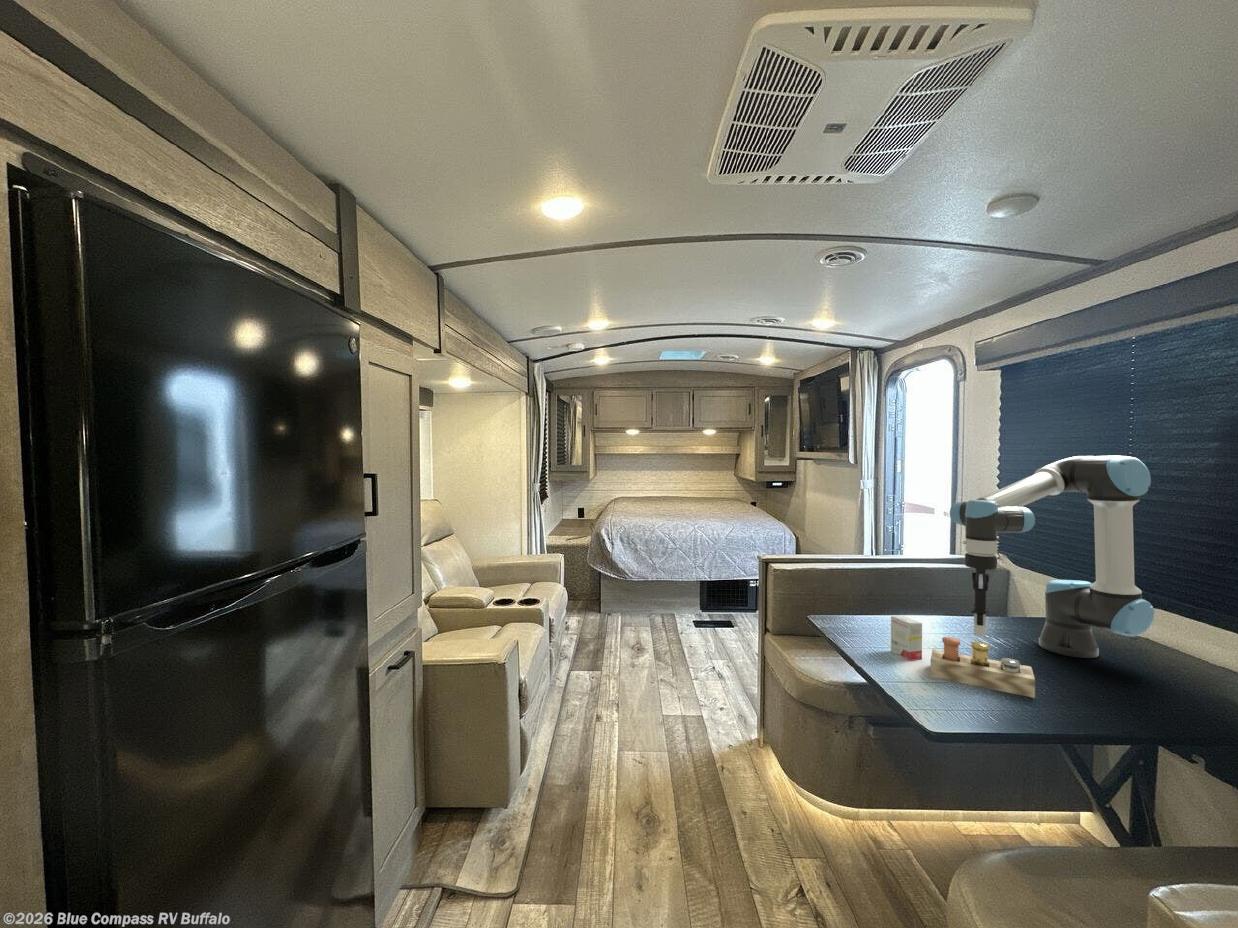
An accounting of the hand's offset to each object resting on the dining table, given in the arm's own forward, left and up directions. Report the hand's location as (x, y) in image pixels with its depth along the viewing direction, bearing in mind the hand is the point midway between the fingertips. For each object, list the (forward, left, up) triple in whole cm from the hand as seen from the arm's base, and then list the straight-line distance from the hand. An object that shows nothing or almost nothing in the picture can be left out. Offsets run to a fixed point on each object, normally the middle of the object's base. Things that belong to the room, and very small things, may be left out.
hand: (979, 635), depth 149 cm
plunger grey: (-6, +4, -13) cm, 14 cm away
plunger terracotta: (+6, -4, -9) cm, 11 cm away
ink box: (+11, -19, -13) cm, 26 cm away
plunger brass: (0, 0, -9) cm, 9 cm away
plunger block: (0, 0, -13) cm, 13 cm away
